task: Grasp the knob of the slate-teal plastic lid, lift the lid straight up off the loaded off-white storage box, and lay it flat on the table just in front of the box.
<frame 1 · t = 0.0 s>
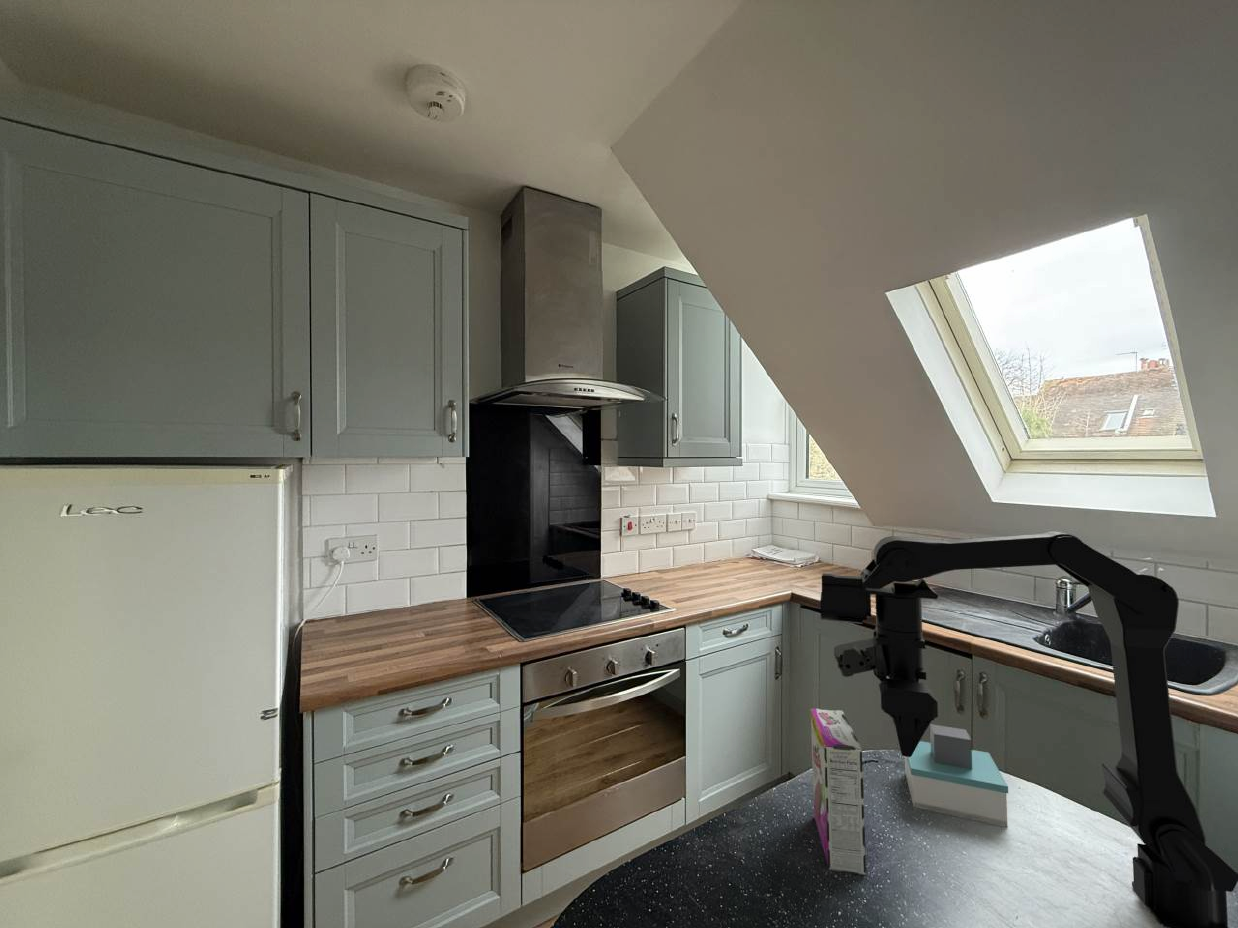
hand: (901, 739, 70), 15 cm above the table, fingers open, 9 cm apart
lid: (951, 772, 80), point 4 cm above the table, touching storage box
candy bar box: (837, 845, 70), on the table
storage box: (952, 798, 80), on the table
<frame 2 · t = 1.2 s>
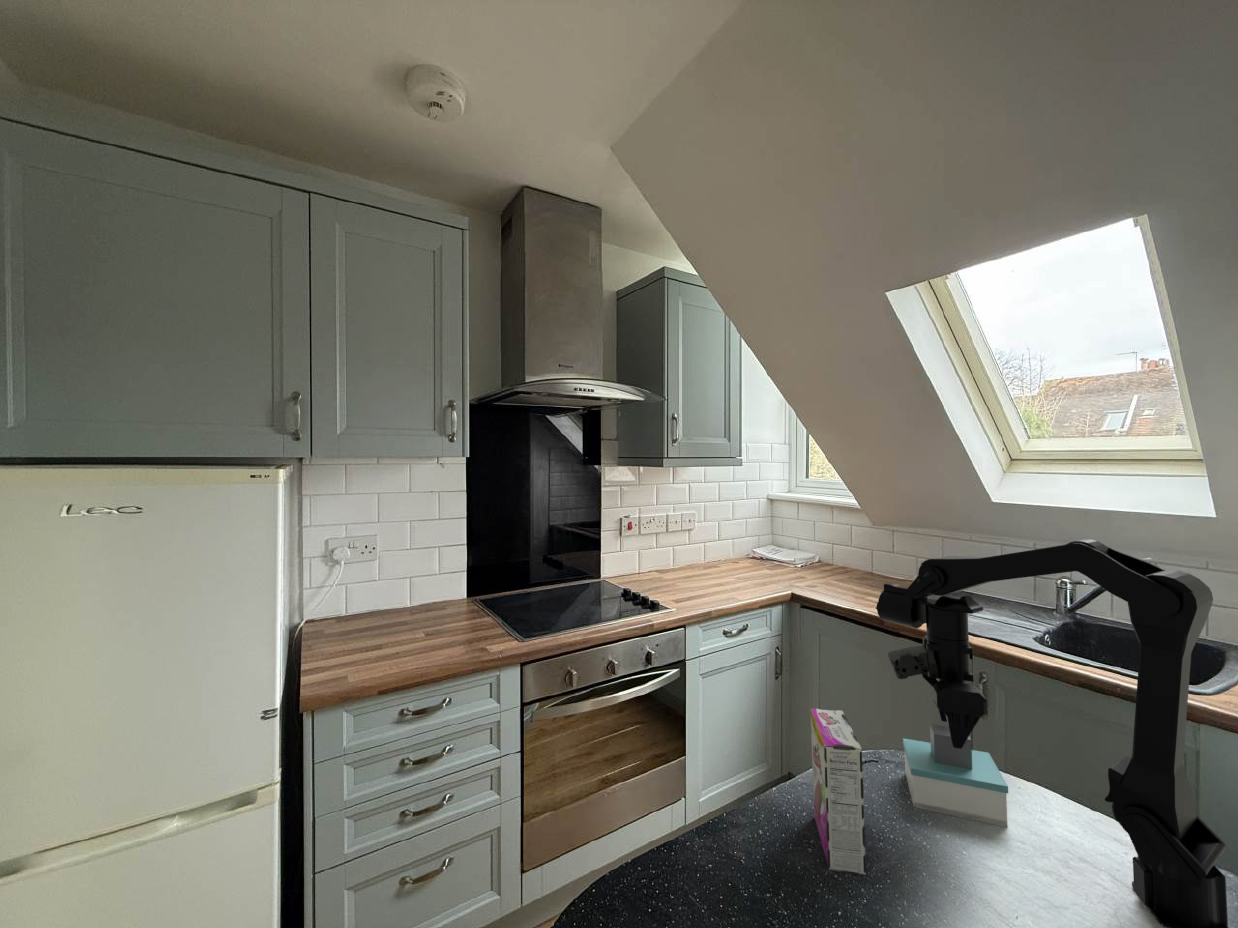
hand: (950, 733, 80), 10 cm above the table, fingers open, 9 cm apart
nothing on the table moved.
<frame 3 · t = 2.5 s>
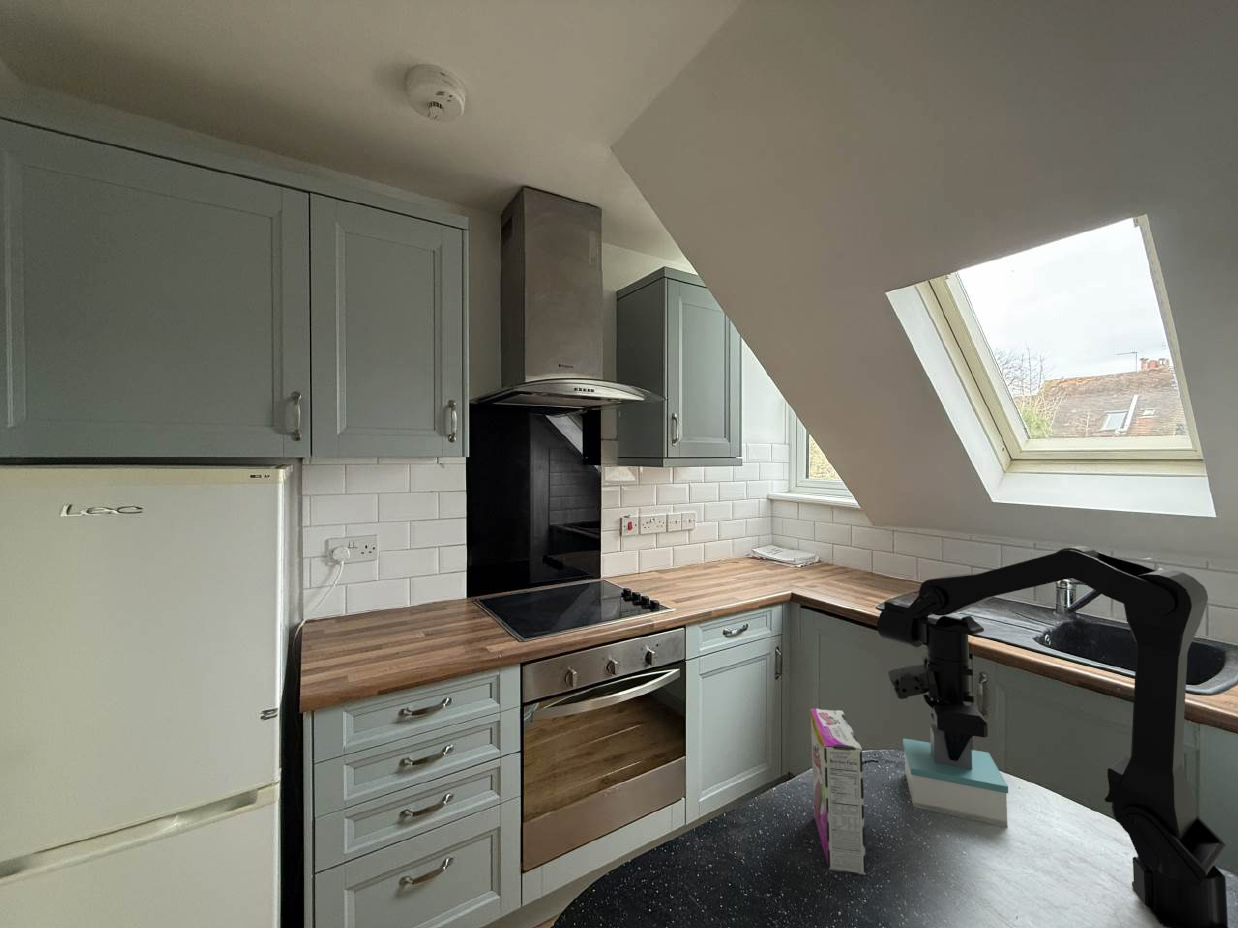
hand: (950, 753, 80), 7 cm above the table, fingers closed on lid, 3 cm apart
lid: (951, 772, 80), point 4 cm above the table, touching gripper, storage box
everything else where it was.
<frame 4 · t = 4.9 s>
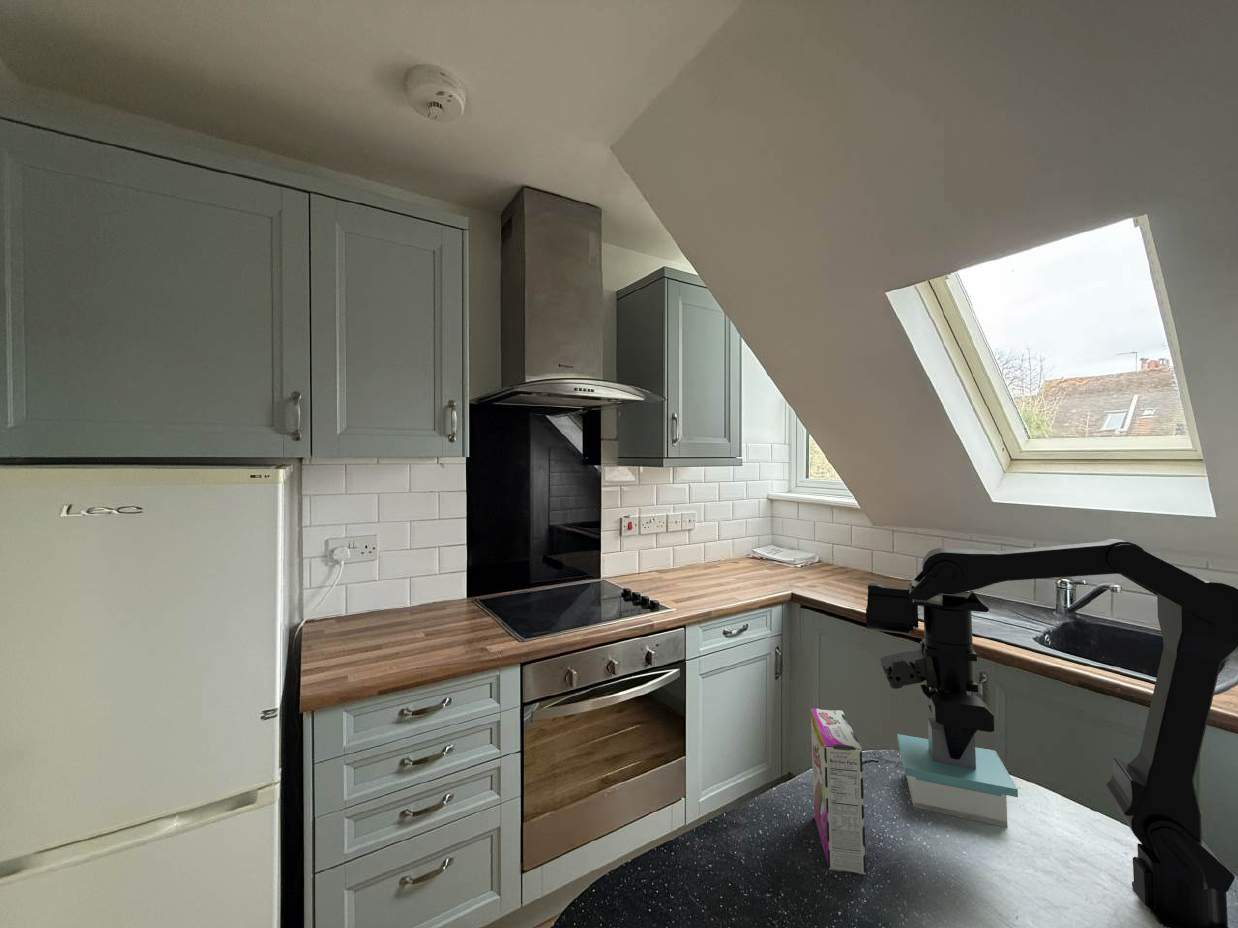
hand: (951, 751, 70), 13 cm above the table, fingers closed on lid, 3 cm apart
lid: (951, 773, 70), point 10 cm above the table, touching gripper
everything else where it was.
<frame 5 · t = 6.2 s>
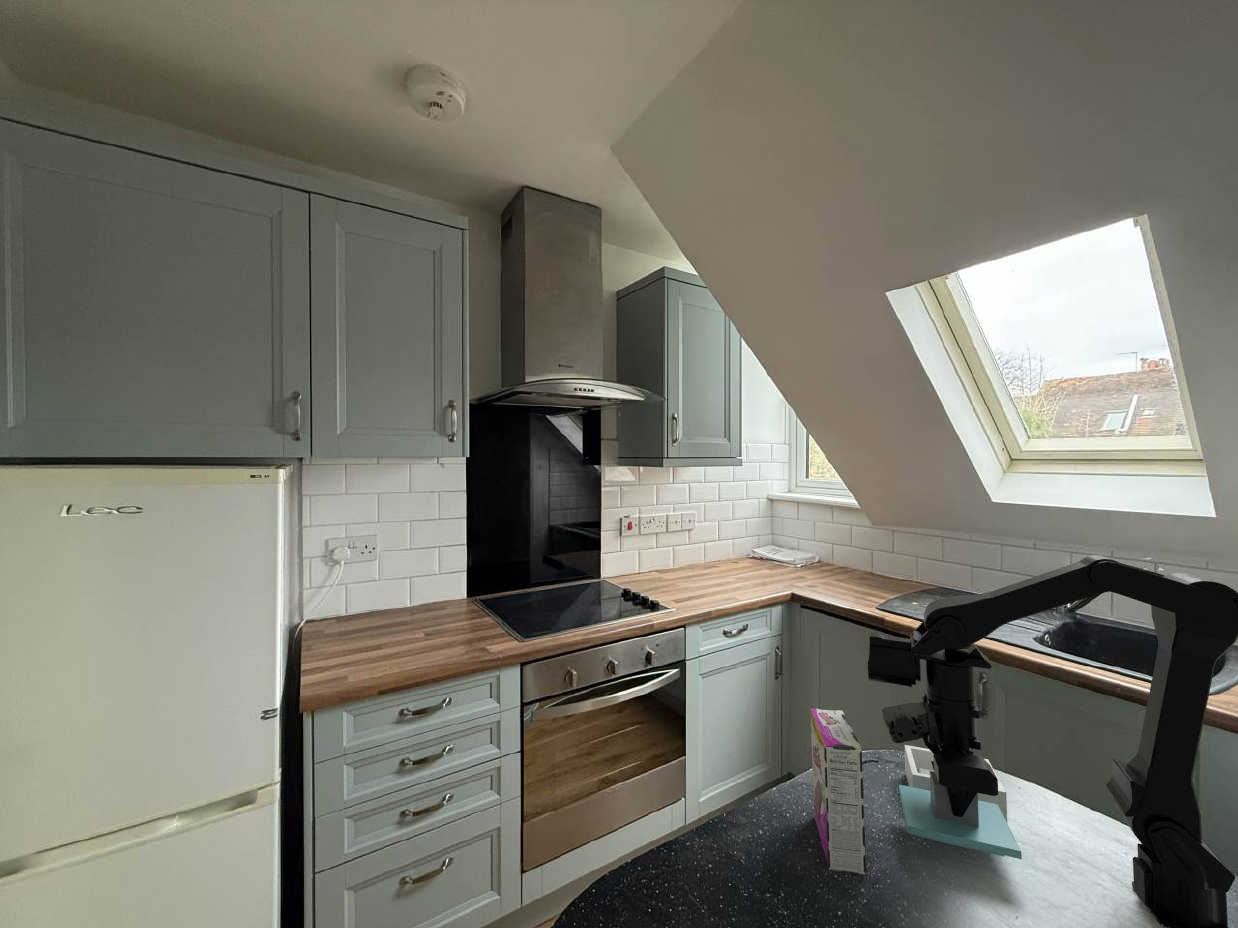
hand: (954, 807, 70), 5 cm above the table, fingers closed on lid, 3 cm apart
lid: (954, 829, 70), point 2 cm above the table, touching gripper
everything else where it was.
when the fingers open (4 cm above the table, at t = 7.1 s): lid drops 1 cm, on the table.
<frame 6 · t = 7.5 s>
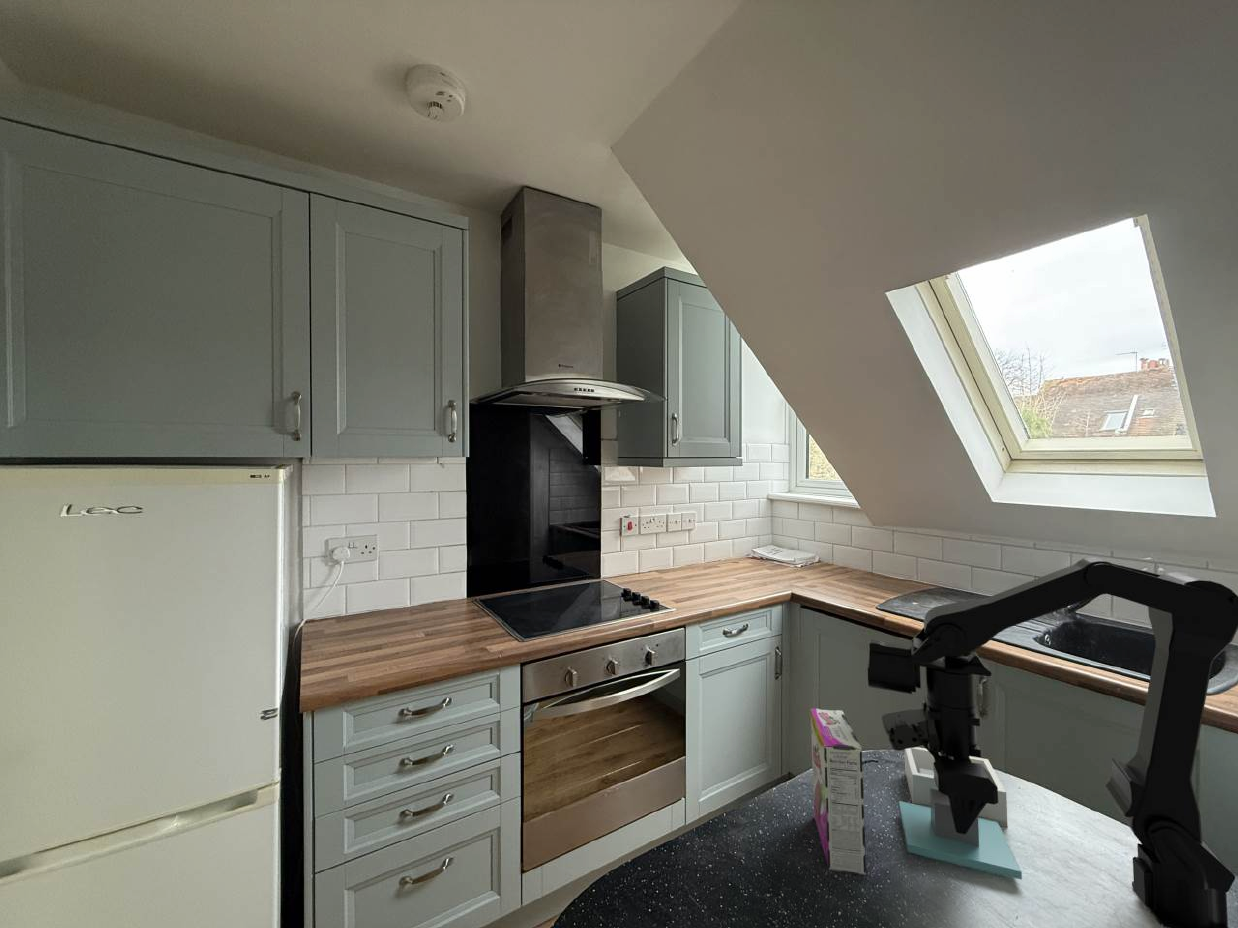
hand: (954, 814, 70), 4 cm above the table, fingers open, 8 cm apart
lid: (954, 847, 69), on the table
everything else where it was.
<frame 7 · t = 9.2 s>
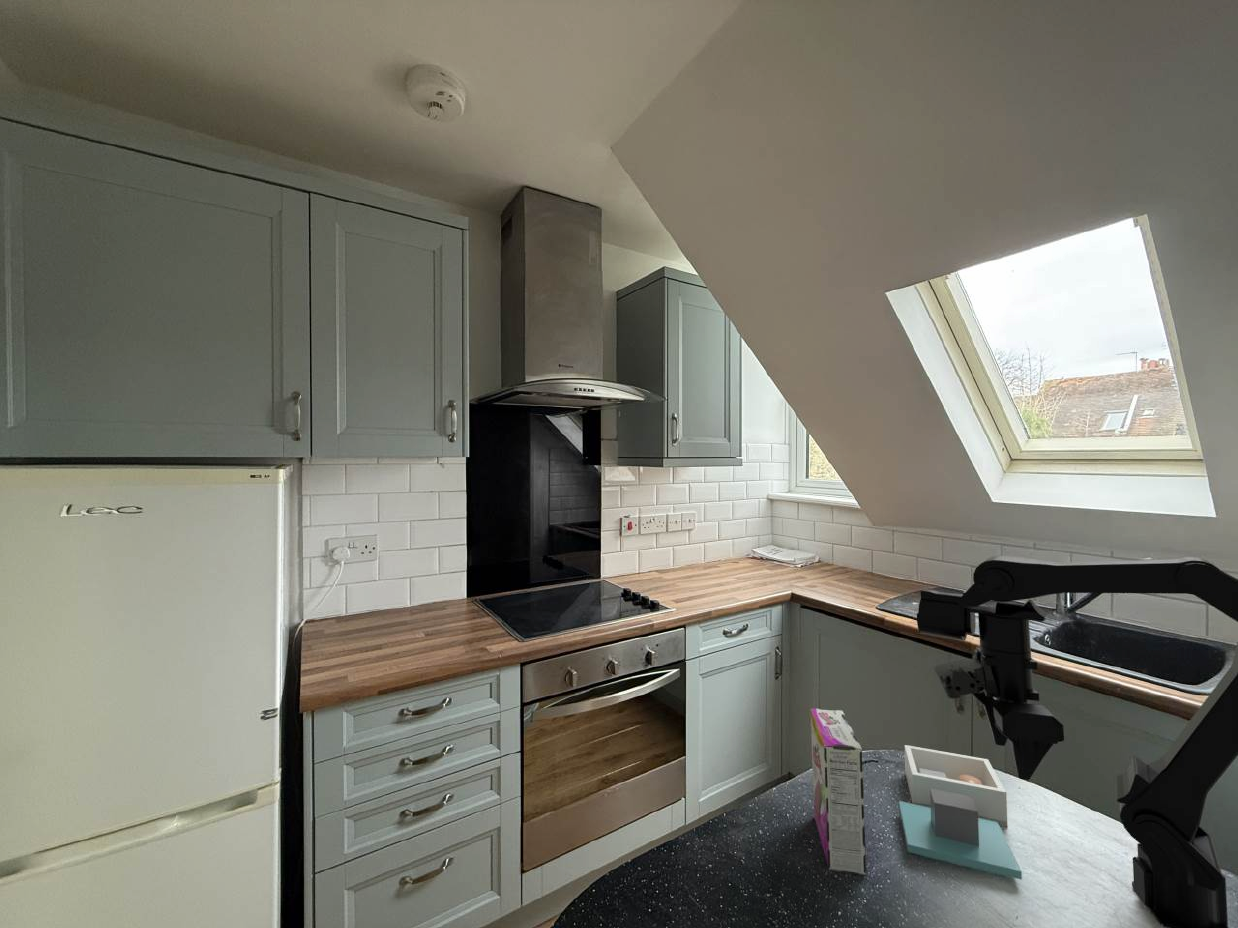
hand: (1011, 760, 70), 12 cm above the table, fingers open, 9 cm apart
nothing on the table moved.
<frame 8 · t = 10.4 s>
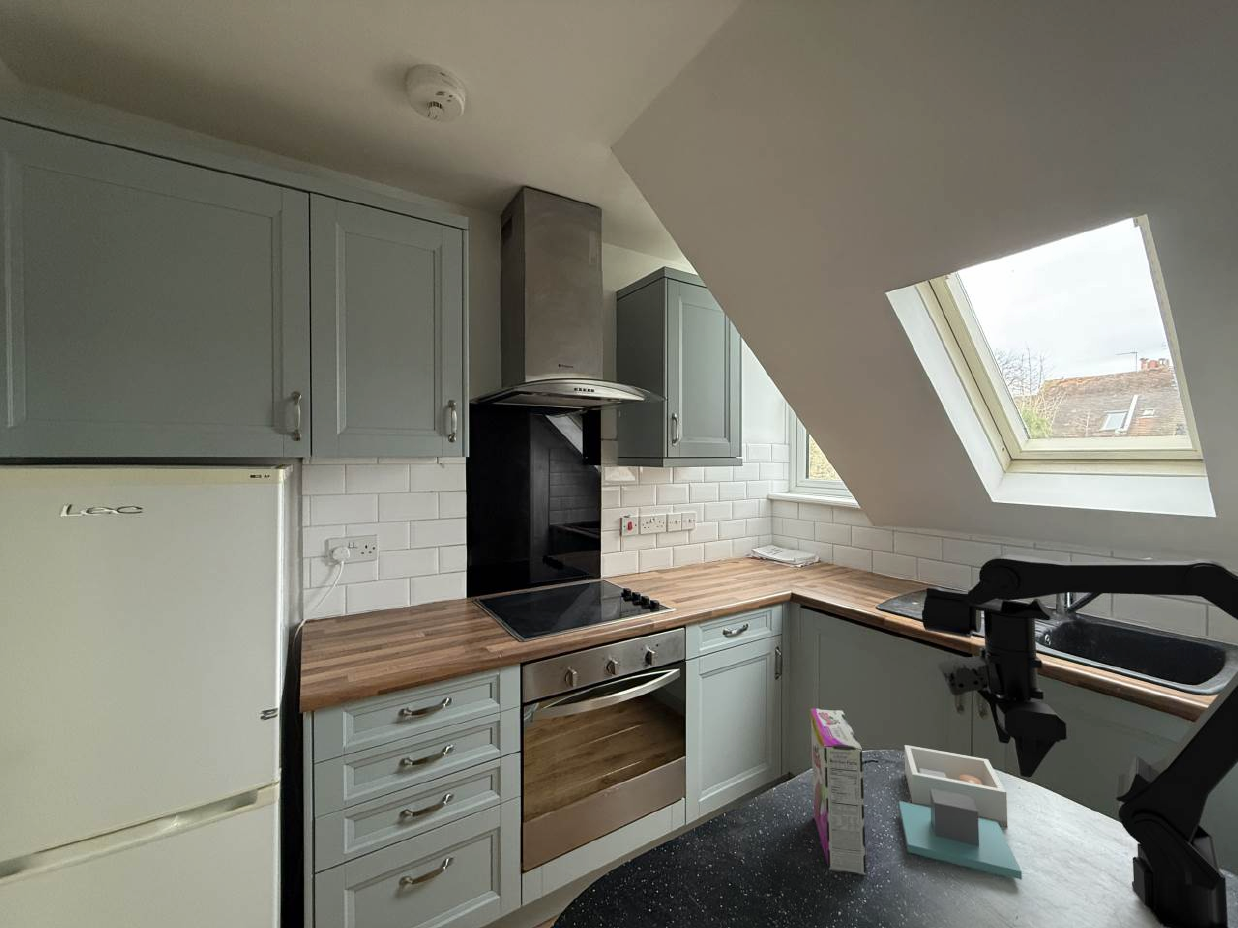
hand: (1013, 758, 70), 12 cm above the table, fingers open, 9 cm apart
nothing on the table moved.
at the end: lid inside the target area (0.0 cm from its centre), on the table; lid tilted 0°; the gripper is holding nothing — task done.
